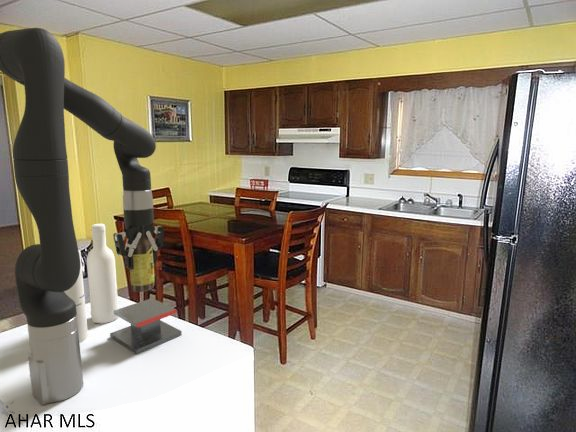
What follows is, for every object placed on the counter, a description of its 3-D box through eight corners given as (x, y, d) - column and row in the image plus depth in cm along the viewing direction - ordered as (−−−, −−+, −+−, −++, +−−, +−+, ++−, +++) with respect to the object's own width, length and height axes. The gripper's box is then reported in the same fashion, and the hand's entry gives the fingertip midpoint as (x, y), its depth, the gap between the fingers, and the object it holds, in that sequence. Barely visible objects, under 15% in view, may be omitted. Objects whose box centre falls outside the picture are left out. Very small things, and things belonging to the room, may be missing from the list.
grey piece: (136, 354, 104) (134, 325, 102) (110, 337, 113) (108, 310, 111) (181, 334, 114) (180, 308, 113) (154, 320, 123) (153, 296, 122)
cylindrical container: (93, 333, 115) (86, 249, 110) (78, 345, 108) (69, 257, 103) (69, 331, 115) (61, 248, 111) (53, 344, 108) (43, 256, 104)
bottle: (96, 326, 119) (87, 228, 113) (88, 317, 125) (79, 224, 119) (123, 318, 124) (116, 225, 119) (114, 310, 130) (107, 220, 124)
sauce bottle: (157, 290, 110) (153, 220, 106) (133, 294, 106) (128, 222, 103) (151, 283, 115) (148, 216, 111) (128, 287, 112) (124, 218, 108)
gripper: (154, 202, 114) (157, 258, 117) (105, 208, 103) (109, 269, 106) (169, 204, 109) (172, 263, 113) (119, 211, 99) (124, 275, 102)
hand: (141, 266), depth 109 cm, fingers closed on sauce bottle, 6 cm apart
